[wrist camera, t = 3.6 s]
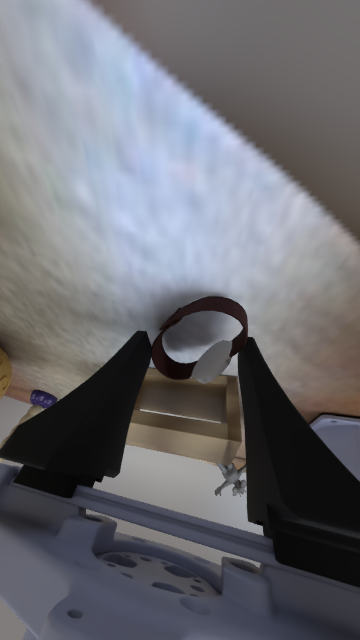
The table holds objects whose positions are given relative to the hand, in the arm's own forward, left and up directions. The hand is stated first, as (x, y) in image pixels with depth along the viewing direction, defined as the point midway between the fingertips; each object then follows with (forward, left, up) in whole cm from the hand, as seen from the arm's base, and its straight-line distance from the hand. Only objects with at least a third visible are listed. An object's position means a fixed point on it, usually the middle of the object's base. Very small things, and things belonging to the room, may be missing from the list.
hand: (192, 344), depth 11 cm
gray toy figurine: (-5, +40, -2) cm, 40 cm away
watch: (0, 0, -2) cm, 2 cm away
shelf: (+3, +11, -1) cm, 11 cm away
